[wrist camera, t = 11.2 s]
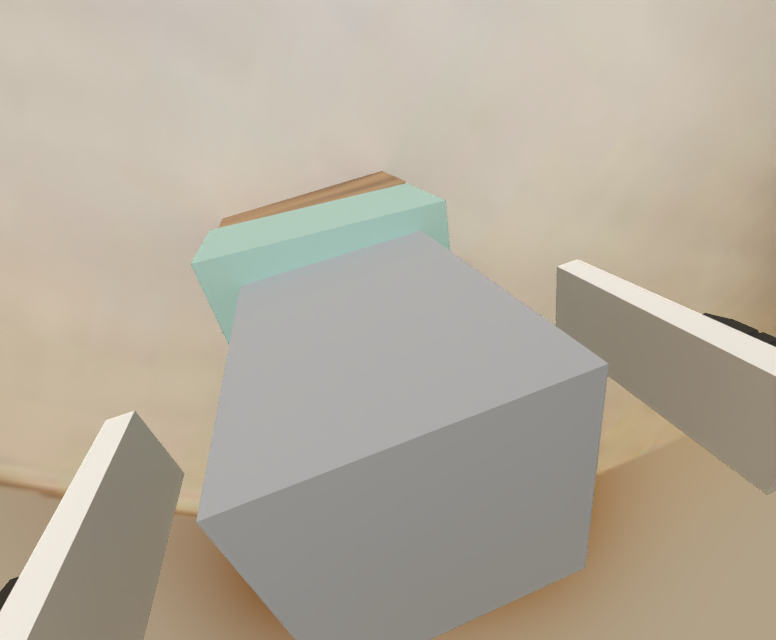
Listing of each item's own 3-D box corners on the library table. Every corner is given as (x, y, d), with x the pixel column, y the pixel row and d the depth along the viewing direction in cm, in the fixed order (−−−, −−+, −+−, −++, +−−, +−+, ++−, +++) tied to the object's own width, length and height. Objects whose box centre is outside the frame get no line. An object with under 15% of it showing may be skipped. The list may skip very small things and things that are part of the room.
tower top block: (209, 230, 14) (190, 263, 11) (406, 183, 15) (445, 200, 12) (276, 388, 18) (278, 449, 15) (428, 341, 19) (462, 387, 16)
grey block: (240, 285, 11) (196, 521, 5) (420, 230, 12) (608, 363, 5) (303, 421, 15) (332, 684, 8) (445, 370, 15) (584, 568, 8)
